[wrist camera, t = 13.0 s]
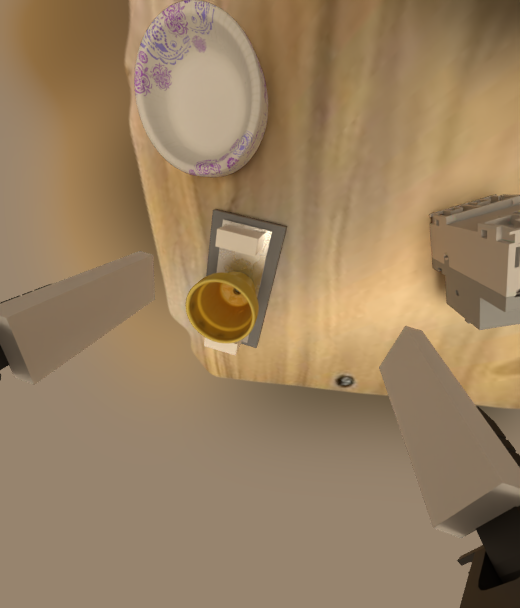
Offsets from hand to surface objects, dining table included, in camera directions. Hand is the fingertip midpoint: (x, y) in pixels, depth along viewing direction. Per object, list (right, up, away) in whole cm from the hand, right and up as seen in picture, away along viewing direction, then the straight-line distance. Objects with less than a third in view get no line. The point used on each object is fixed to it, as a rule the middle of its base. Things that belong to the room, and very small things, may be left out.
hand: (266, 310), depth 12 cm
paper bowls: (-6, +27, +21) cm, 34 cm away
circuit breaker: (+29, +8, +22) cm, 38 cm away
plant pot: (-4, +3, +29) cm, 30 cm away
